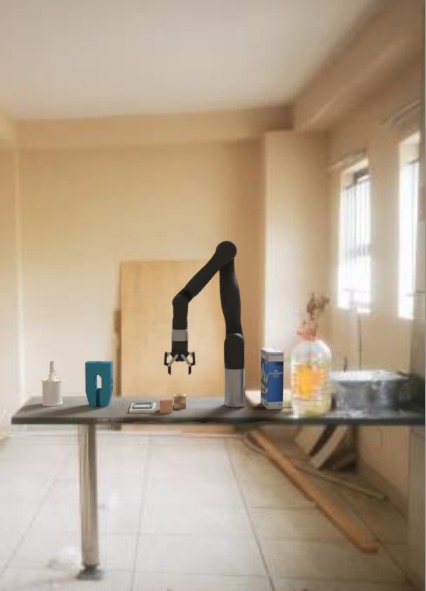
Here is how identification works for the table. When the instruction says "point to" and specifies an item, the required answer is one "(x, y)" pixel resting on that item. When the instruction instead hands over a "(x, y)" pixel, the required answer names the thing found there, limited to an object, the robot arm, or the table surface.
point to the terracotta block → (166, 404)
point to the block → (106, 373)
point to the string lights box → (272, 378)
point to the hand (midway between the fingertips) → (179, 374)
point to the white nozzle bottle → (52, 388)
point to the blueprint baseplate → (142, 407)
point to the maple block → (180, 400)
